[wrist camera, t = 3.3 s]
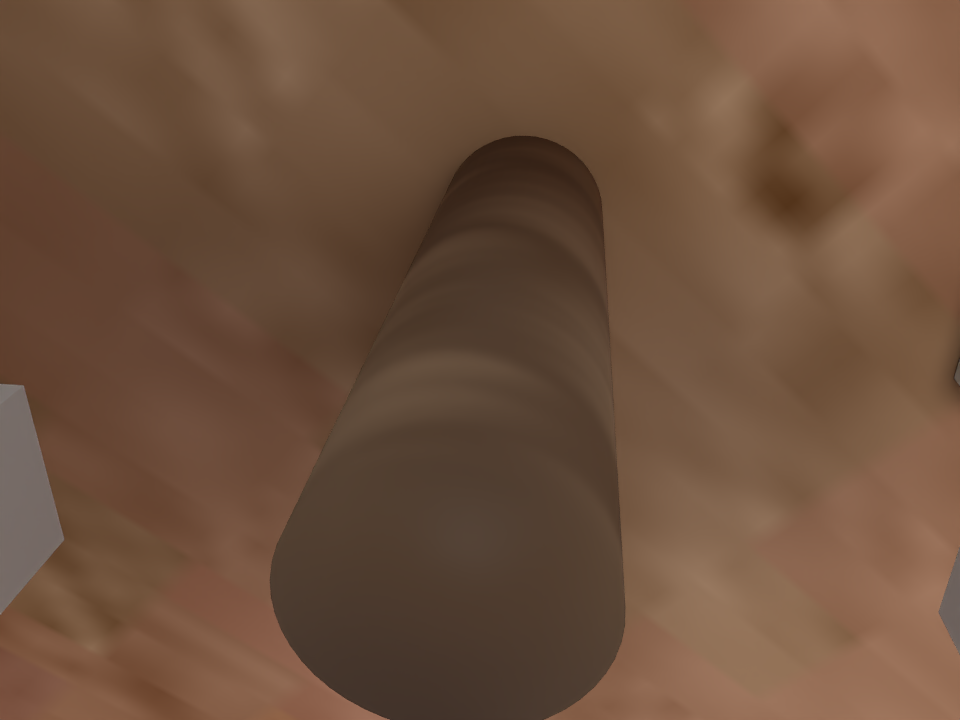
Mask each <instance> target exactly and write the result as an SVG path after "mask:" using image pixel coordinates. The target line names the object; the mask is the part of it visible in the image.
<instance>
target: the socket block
mask: <svg viewBox="0 0 960 720" xmlns="http://www.w3.org/2000/svg"><path fill="white" fill-rule="evenodd" d="M954 379H955V380H956V382H957V383H958V384H959V385H960V360H959V363H958V366H957V370H956V373H955V376H954Z"/></svg>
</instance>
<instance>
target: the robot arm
mask: <svg viewBox="0 0 960 720" xmlns="http://www.w3.org/2000/svg"><path fill="white" fill-rule="evenodd" d="M63 541H64V536H63V533H62V529H61V525H60V521H59V517H58V514H57V510H56V506H55V502H54V499H53V495H52V491H51V487H50V483H49V480H48V476H47V472H46V468H45V464H44V461H43V457H42V453H41V449H40V446H39V442H38V438H37V434H36V430H35V427H34V423H33V419H32V415H31V411H30V408H29V404H28V400H27V396H26V393H25V389H24V385H10V384H0V614H1V613H2V612H3V611H4V610H5V608H6V607H7V606H8V605H9V604H10V603H11V601H12V600H13V599H14V598H15V597H16V596H17V594H18V593H19V592H20V591H21V590H22V589H23V587H24V586H25V585H26V584H27V583H28V582H29V580H30V579H31V578H32V577H33V576H34V575H35V573H36V572H37V571H38V570H39V569H40V568H41V566H42V565H43V564H44V563H45V562H46V561H47V559H48V558H49V557H50V556H51V555H52V554H53V552H54V551H55V550H56V549H57V548H58V546H59V545H60V544H61V543H62V542H63ZM939 614H940V616H941V618H942V620H943V622H944V624H945V626H946V628H947V630H948V632H949V634H950V636H951V638H952V640H953V642H954V644H955V646H956V648H957V650H958V652H959V654H960V548H959V551H958V554H957V557H956V560H955V563H954V566H953V569H952V572H951V575H950V578H949V581H948V585H947V588H946V591H945V594H944V597H943V600H942V603H941V606H940V609H939Z"/></svg>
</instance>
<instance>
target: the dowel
mask: <svg viewBox="0 0 960 720" xmlns="http://www.w3.org/2000/svg"><path fill="white" fill-rule="evenodd" d="M270 589H271V599H272V603H273V607H274V612H275V615H276V618H277V620H278V623H279V625H280V628H281V630H282V632H283V634H284V636H285V637H286V639H287V641H288V643H289V644H290V646H291V647H292V649H293V650H294V651H295V653H296V654H297V655H298V657H299V658H300V659H301V661H302V662H303V663H304V664H305V665H306V666H307V667H308V668H309V669H310V670H311V671H312V672H313V673H314V675H315V676H317V677H318V678H319V679H320V680H321V681H323V682H324V683H325V684H326V685H327V686H329V687H330V688H331V689H333V690H334V691H335V692H337V693H338V694H340V695H341V696H343V697H344V698H346V699H347V700H349V701H351V702H353V703H355V704H356V705H358V706H360V707H362V708H364V709H366V710H368V711H370V712H373V713H375V714H377V715H380V716H382V717H384V718H387V719H390V720H544V719H546V718H549V717H551V716H553V715H555V714H557V713H559V712H561V711H563V710H565V709H566V708H568V707H569V706H571V705H572V704H574V703H576V702H577V701H579V700H580V699H581V698H582V697H584V696H585V695H586V694H587V693H588V692H589V691H590V690H592V689H593V688H594V687H595V686H596V685H597V683H598V682H599V681H600V680H601V679H602V677H603V676H604V675H605V674H606V672H607V671H608V669H609V667H610V666H611V664H612V663H613V661H614V659H615V657H616V655H617V652H618V650H619V647H620V644H621V642H622V637H623V632H624V627H625V593H624V576H623V559H622V541H621V524H620V507H619V490H618V473H617V455H616V438H615V421H614V404H613V387H612V369H611V352H610V335H609V318H608V300H607V283H606V266H605V249H604V232H603V214H602V203H601V197H600V193H599V190H598V187H597V184H596V182H595V180H594V178H593V176H592V174H591V173H590V171H589V170H588V168H587V167H586V166H585V165H584V163H583V162H582V161H581V160H580V159H579V158H578V157H577V156H576V155H575V154H573V153H572V152H570V151H569V150H568V149H566V148H565V147H563V146H561V145H559V144H557V143H555V142H552V141H549V140H547V139H543V138H538V137H531V136H513V137H507V138H503V139H499V140H496V141H493V142H491V143H489V144H487V145H485V146H483V147H481V148H480V149H478V150H477V151H475V152H474V153H473V154H472V155H471V156H469V157H468V158H467V159H466V160H465V161H464V163H463V164H462V165H461V166H460V168H459V169H458V171H457V172H456V173H455V175H454V177H453V179H452V181H451V183H450V185H449V188H448V190H447V192H446V194H445V196H444V198H443V200H442V202H441V204H440V206H439V208H438V210H437V212H436V215H435V217H434V219H433V221H432V223H431V225H430V227H429V229H428V231H427V233H426V235H425V237H424V240H423V242H422V244H421V246H420V248H419V250H418V252H417V254H416V256H415V258H414V260H413V262H412V264H411V267H410V269H409V271H408V273H407V275H406V277H405V279H404V281H403V283H402V285H401V287H400V289H399V292H398V294H397V296H396V298H395V300H394V302H393V304H392V306H391V308H390V310H389V312H388V314H387V316H386V319H385V321H384V323H383V325H382V327H381V329H380V331H379V333H378V335H377V337H376V339H375V341H374V344H373V346H372V348H371V350H370V352H369V354H368V356H367V358H366V360H365V362H364V364H363V366H362V368H361V371H360V373H359V375H358V377H357V379H356V381H355V383H354V385H353V387H352V389H351V391H350V393H349V395H348V398H347V400H346V402H345V404H344V406H343V408H342V410H341V412H340V414H339V416H338V418H337V420H336V423H335V425H334V427H333V429H332V431H331V433H330V435H329V437H328V439H327V441H326V443H325V445H324V447H323V450H322V452H321V454H320V456H319V458H318V460H317V462H316V464H315V466H314V468H313V470H312V472H311V475H310V477H309V479H308V481H307V483H306V485H305V487H304V489H303V491H302V493H301V495H300V497H299V499H298V502H297V504H296V506H295V508H294V510H293V512H292V514H291V516H290V518H289V520H288V522H287V524H286V527H285V529H284V531H283V533H282V535H281V537H280V539H279V541H278V543H277V546H276V549H275V552H274V556H273V559H272V565H271V573H270Z"/></svg>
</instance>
